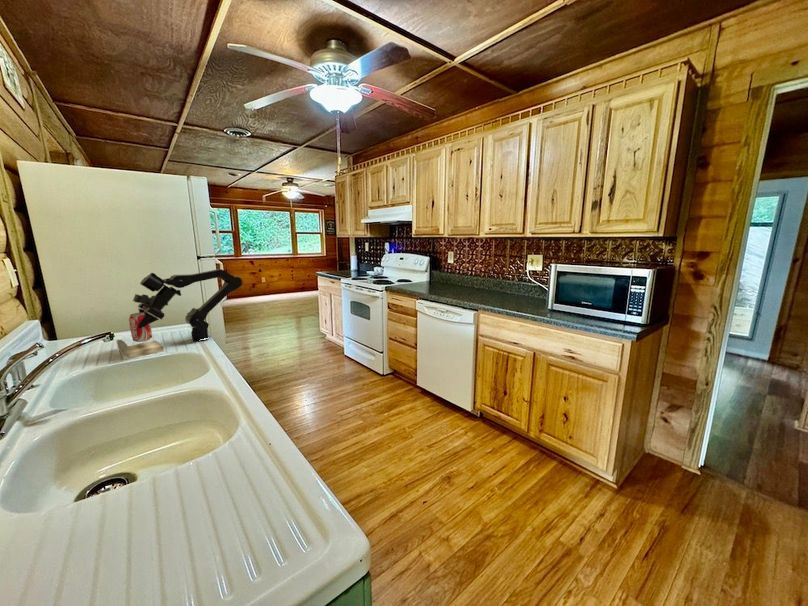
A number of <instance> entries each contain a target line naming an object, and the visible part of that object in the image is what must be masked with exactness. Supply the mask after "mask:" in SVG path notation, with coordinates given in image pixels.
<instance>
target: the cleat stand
mask: <svg viewBox="0 0 808 606" xmlns="http://www.w3.org/2000/svg"><path fill="white" fill-rule="evenodd" d="M116 344H117V349H118V354H119V355H120V356H121V357H122V358H123V359H124V360H129V359H134V358H139V357H143V356H146V355H151V354H157V353H161V352H164V345H162V344H161V343H160V342H159V341H157V340H151V341H145V342H140V343H136V344H132V345H131V344H130V345H128V344H127V343H126V342H125V341H124V340H123V339H117V340H116Z"/></svg>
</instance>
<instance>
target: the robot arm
mask: <svg viewBox="0 0 808 606" xmlns="http://www.w3.org/2000/svg"><path fill="white" fill-rule="evenodd" d="M217 278H219V279H221V280H222V281H223V284H222V286H221V288H220V289H218V290H217V291H216V292H215V293H214V294H212V296H211V297H209V299H208V300H206V301H205V302H204V303H203V304H202V305H201V306H200V307H198V308H195V307H193V308H191V310H190V311H189V312H187V313H186V316H185V322H186V323H187V324H188V325H189V326H191V331H190V333H191V341H196V342H200V341H199V340H200V339H204V338H208V337H209V338H210V335H209V330H208V329H209V325H210V324H209V323H208V322H207V321H206V319H207V316H208V315H209V313H210V312H211V311H212V310H214V308H215V307H216V306H217V305H219V303H221V301H223V300H224V299H225V297H227V296H229V294H230V293H232V292H234V291H236V290H237V289H240V288H241V287H242V286H243V280H242V278H241V277H239V276H234V275H233V274H231V273H228V272H226V271H225V270H224V269H222V268H217V269H212V270H208V271H207V270H206V271H202V272H198V273H193V274H192V273H190V274H173V275H170V277H169V278H168V277H167V278H164V279H162V278H161V277H159V276H158V275H157V274H155V273H154V272H150V274H148V275H147V276H146V277H144V278H143V279H142V280H141V282H139V284H140V285H141V286H142V287H144V288H145V289H148V290H149V291H151V292H152V293H153V292H157V293H156V294H155V295H151V296H150V297H149V295H148V294H141V295H140V294H137V293H135V295H134V297H133V300H132V302H134V303H138V305H137V307H138V308H137V309H138V313H144V318H143V319H142V321H141V322H140V324H139V325H138V328H142V327H144V326H146V325H148V324H150V325H151V324H152V323H154V322H157V321H159V319H160V320H163V318H164V317H165V313H164V312H163V309H164V308H165V307H167V306H168V305H169V302H170V301H171V300H172V299H173V298H174V297H175V295H177V296H179V297H181V296H182V294H181V293H182V292H181V289H183V288H185V287H188V286H190V285H192V284H194V283H198V282H202V281H207V280H211V279H217ZM176 288H177V289H176Z"/></svg>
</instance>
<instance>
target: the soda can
mask: <svg viewBox="0 0 808 606" xmlns="http://www.w3.org/2000/svg"><path fill="white" fill-rule="evenodd" d="M143 318H144V313H139V312H136V313H134V312H133V313H131V314H129V318H128V322H129V329H130V333H131V339H132V341H133V342H135V343H144V342H149V341H150V340H151V339H152V338H153V332H152V325H151V323H150V324H148V325H146V326H144V327H142V328H138V325H139V324H140V322H141V321H142V319H143Z"/></svg>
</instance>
